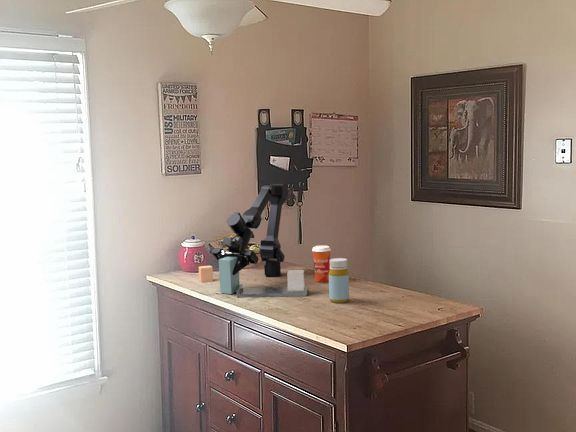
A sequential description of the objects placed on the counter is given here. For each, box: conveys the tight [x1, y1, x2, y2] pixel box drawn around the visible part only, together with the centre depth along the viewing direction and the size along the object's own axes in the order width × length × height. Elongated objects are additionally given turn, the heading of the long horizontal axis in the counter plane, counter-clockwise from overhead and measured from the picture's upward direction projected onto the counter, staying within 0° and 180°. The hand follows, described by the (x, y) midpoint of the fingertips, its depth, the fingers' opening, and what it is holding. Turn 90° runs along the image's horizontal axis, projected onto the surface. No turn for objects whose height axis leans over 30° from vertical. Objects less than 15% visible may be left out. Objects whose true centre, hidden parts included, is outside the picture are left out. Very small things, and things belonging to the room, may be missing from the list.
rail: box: [236, 269, 308, 298], centre depth 261 cm, size 26×10×8 cm, turn 87°
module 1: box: [198, 265, 214, 284], centre depth 287 cm, size 5×4×6 cm
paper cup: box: [311, 245, 332, 283], centre depth 279 cm, size 8×8×14 cm
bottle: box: [328, 257, 350, 304], centre depth 246 cm, size 7×7×15 cm
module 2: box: [218, 257, 241, 295], centre depth 265 cm, size 6×5×13 cm
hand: (226, 274), depth 263 cm, fingers closed on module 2, 5 cm apart
